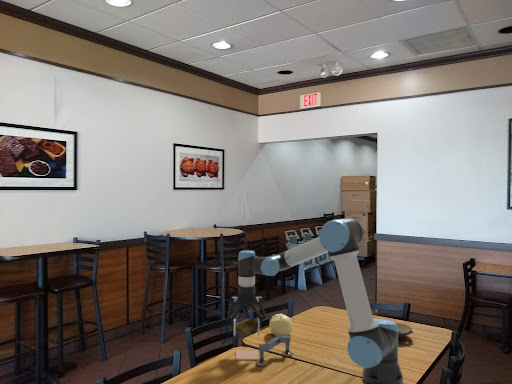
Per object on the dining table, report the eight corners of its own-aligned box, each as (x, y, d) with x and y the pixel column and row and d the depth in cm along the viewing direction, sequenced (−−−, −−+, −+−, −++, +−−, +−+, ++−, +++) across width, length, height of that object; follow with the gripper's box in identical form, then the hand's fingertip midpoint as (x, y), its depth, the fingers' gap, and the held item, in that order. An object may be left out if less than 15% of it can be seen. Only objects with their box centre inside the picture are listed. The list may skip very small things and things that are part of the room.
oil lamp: (387, 347, 196) (386, 331, 196) (349, 329, 224) (349, 314, 224) (423, 341, 205) (423, 325, 205) (382, 324, 232) (382, 310, 233)
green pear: (249, 329, 194) (249, 312, 194) (261, 338, 182) (260, 320, 182) (232, 332, 191) (232, 315, 191) (243, 341, 179) (243, 323, 179)
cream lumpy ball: (269, 330, 221) (269, 310, 221) (292, 331, 220) (292, 311, 220) (268, 338, 209) (268, 316, 209) (292, 338, 208) (292, 317, 208)
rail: (295, 354, 187) (295, 336, 187) (262, 367, 173) (262, 348, 173) (284, 350, 192) (284, 333, 192) (251, 362, 178) (251, 343, 178)
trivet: (258, 360, 181) (258, 358, 181) (235, 360, 181) (235, 358, 181) (257, 351, 191) (257, 350, 191) (236, 351, 191) (236, 350, 191)
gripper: (271, 283, 190) (271, 331, 190) (222, 283, 190) (222, 331, 190) (272, 286, 183) (272, 337, 183) (220, 287, 183) (220, 337, 182)
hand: (246, 334), depth 186 cm, fingers closed on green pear, 10 cm apart
